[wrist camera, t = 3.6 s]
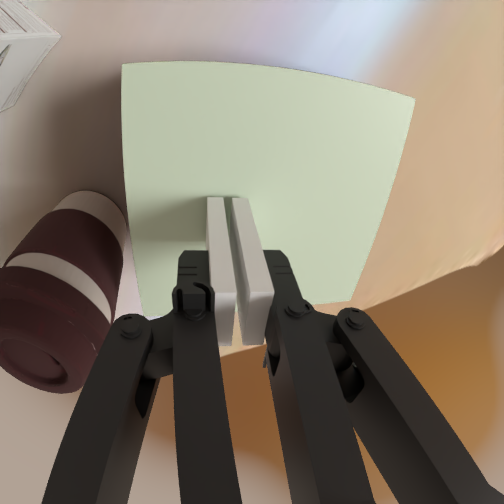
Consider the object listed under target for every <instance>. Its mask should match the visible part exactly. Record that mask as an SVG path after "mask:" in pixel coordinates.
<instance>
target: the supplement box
mask: <svg viewBox="0 0 504 504" xmlns="http://www.w3.org/2000/svg"><path fill="white" fill-rule="evenodd" d="M60 38H61V35H60V34H58V33H57V32H56V31H55V30H54V29H52V28H51V27H50V26H49V25H48V24H47V23H45V22H44V21H43V20H42V19H41V18H40V17H39V16H37V15H36V14H35V13H34V12H33V11H31V10H30V9H29V8H28V7H27V6H26V5H24V4H23V3H22V2H21V1H20V0H0V112H1V111H3V110H6V109H8V108H10V107H12V106H14V104H15V103H16V101H17V99H18V97H19V95H20V93H21V92H22V90H23V88H24V87H25V85H26V83H27V82H28V80H29V79H30V77H31V76H32V74H33V73H34V71H35V70H36V69H37V67H38V66H39V64H40V63H41V62H42V60H43V59H44V58H45V56H46V55H47V54H48V52H49V51H50V50H51V49H52V48H53V46H54V45H55V44H56V43H57V42H58V40H59V39H60Z"/></svg>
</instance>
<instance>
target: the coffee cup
mask: <svg viewBox="0 0 504 504" xmlns="http://www.w3.org/2000/svg"><path fill="white" fill-rule="evenodd" d="M126 235H127V228H126V222H125V219H124V216H123V214H122V213H121V211H120V209H119V208H118V207H117V206H116V205H115V204H114V203H113V202H112V201H111V200H110V199H109V198H107V197H106V196H104V195H102V194H99V193H97V192H93V191H78V192H74V193H72V194H70V195H68V196H66V197H65V198H64V199H62V200H61V201H60V202H59V204H58V205H57V206H56V207H55V208H54V209H53V210H52V211H51V212H50V213H48V214H47V215H45V216H44V217H43V218H42V219H41V220H40V221H39V222H38V223H37V224H36V225H35V226H34V227H33V229H32V230H31V231H30V232H29V233H28V234H27V235H26V237H25V238H24V239H23V240H22V241H21V243H20V244H19V245H18V246H17V247H16V249H15V250H14V251H13V252H12V254H11V255H10V256H9V257H8V259H7V260H6V262H5V264H4V266H3V267H2V268H0V366H1V367H2V368H3V369H4V370H5V371H6V372H8V373H9V374H11V375H12V376H14V377H15V378H17V379H18V380H20V381H22V382H23V383H25V384H27V385H30V386H32V387H34V388H37V389H40V390H43V391H47V392H51V393H60V394H63V393H72V392H75V391H77V390H79V389H80V388H81V387H82V386H83V385H84V384H85V382H86V379H87V377H88V375H89V373H90V370H91V368H92V366H93V364H94V361H95V359H96V357H97V355H98V353H99V351H100V348H101V346H102V344H103V342H104V340H105V338H106V336H107V334H108V332H109V330H110V327H111V325H112V324H113V321H114V317H115V310H116V303H117V297H118V291H119V285H120V279H121V273H122V268H123V250H124V246H125V241H126Z"/></svg>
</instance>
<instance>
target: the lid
mask: <svg viewBox="0 0 504 504" xmlns="http://www.w3.org/2000/svg"><path fill="white" fill-rule="evenodd" d="M415 100H416V99H415V98H413V97H410V96H407V95H404V94H401V93H397V92H394V91H391V90H387V89H384V88H380V87H376V86H373V85H369V84H365V83H361V82H357V81H353V80H348V79H344V78H339V77H335V76H330V75H325V74H319V73H314V72H308V71H302V70H296V69H289V68H282V67H274V66H265V65H256V64H245V63H231V62H212V61H156V62H137V63H125V64H122V80H121V118H122V147H123V165H124V179H125V191H126V202H127V211H128V220H129V229H130V236H131V244H132V251H133V258H134V264H135V271H136V277H137V283H138V288H139V294H140V299H141V305H142V310H143V315H144V316H165V315H166V314H168V313H169V312H170V311H171V310H172V309H173V305H172V291H173V288H174V287H175V286H176V285H177V271H178V258H179V256H180V255H181V254H182V252H183V251H184V250H206V219H207V197H223V200H224V207H225V214H226V222H227V229H228V236H229V230H230V217H231V205H232V198H248V201H249V204H250V208H251V211H252V215H253V218H254V221H255V225H256V228H257V232H258V235H259V239H260V242H261V246H262V249H263V250H281V251H282V252H283V253H284V254H285V255H286V256H287V257H288V260H289V262H290V265H291V268H292V270H293V274H294V276H295V278H296V281H297V284H298V286H299V289H300V292H301V295H302V297H303V299H305V300H307V301H308V302H309V303H310V304H311V305H315V304H325V303H333V302H342V301H350V299H351V297H352V295H353V292H354V290H355V287H356V285H357V283H358V280H359V278H360V275H361V273H362V270H363V268H364V265H365V263H366V260H367V257H368V255H369V252H370V250H371V247H372V244H373V241H374V239H375V236H376V233H377V230H378V228H379V225H380V222H381V219H382V216H383V213H384V210H385V207H386V204H387V201H388V198H389V195H390V192H391V189H392V186H393V182H394V179H395V176H396V172H397V169H398V166H399V162H400V159H401V155H402V152H403V148H404V144H405V141H406V137H407V133H408V129H409V125H410V121H411V117H412V113H413V108H414V104H415ZM235 312H238V309H237V302H236V305H235Z"/></svg>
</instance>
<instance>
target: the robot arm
mask: <svg viewBox="0 0 504 504" xmlns="http://www.w3.org/2000/svg"><path fill="white" fill-rule="evenodd" d="M236 302H237V309H238V316H239V322H240V329H241V336H242V342H243V345H263V343H264V338H266V343H267V349H266V353H265V357H264V361H263V368H265V367H266V364H267V368H268V373H269V379H270V384H271V390H272V396H273V401H274V407H275V412H276V418H277V424H278V429H279V434H280V440H281V445H282V450H283V457H284V462H285V467H286V473H287V478H288V484H289V489H290V495H291V500H292V504H376V503H375V501H374V498H373V494H372V491H371V487H370V484H369V480H368V476H367V473H366V470H365V466H364V462H363V459H362V456H361V452H360V449H359V445H358V442H357V439H356V435H355V432H354V429H355V431H356V432H357V434H358V436H359V437H360V439H361V441H362V442H363V444H364V446H365V447H366V449H367V451H368V453H369V454H370V456H371V458H372V459H373V461H374V463H375V464H376V466H377V468H378V469H379V471H380V473H381V474H382V476H383V478H384V479H385V481H386V483H387V484H388V486H389V488H390V489H391V491H392V493H393V494H394V496H395V498H396V499H397V501H398V503H399V504H504V495H503V494H502V493H500V492H499V491H497V490H496V489H495V488H493V487H491V486H490V485H489V484H488V482H487V481H486V479H485V477H484V476H483V474H482V473H481V471H480V470H479V468H478V466H477V465H476V463H475V462H474V460H473V459H472V457H471V456H470V454H469V453H468V451H467V450H466V448H465V447H464V445H463V444H462V442H461V441H460V439H459V438H458V436H457V435H456V433H455V432H454V430H453V429H452V427H451V426H450V425H449V423H448V422H447V420H446V419H445V417H444V416H443V414H442V413H441V412H440V410H439V409H438V407H437V406H436V405H435V403H434V402H433V400H432V399H431V398H430V396H429V395H428V393H427V392H426V391H425V389H424V388H423V387H422V385H421V384H420V382H419V381H418V380H417V379H416V377H415V376H414V374H413V373H412V372H411V370H410V369H409V367H408V366H407V365H406V364H405V362H404V361H403V359H402V358H401V357H400V356H399V354H398V353H397V352H396V350H395V349H394V348H393V346H392V345H391V344H390V342H389V341H388V340H387V339H386V337H385V336H384V335H383V333H382V332H381V331H380V329H379V328H378V327H377V326H376V324H375V323H374V322H373V320H372V319H371V318H370V317H369V316H368V315H367V314H366V313H365V312H363V311H361V310H360V309H357V308H352V307H351V308H344V309H342V310H340V312H339V313H338V315H337V316H335V315H330V314H325V313H321V312H318V311H316V310H314V308H313V306H312V305H311V304H310V303H309V302H308V301H307V300H305V299H303V297H302V295H301V292H300V289H299V286H298V284H297V281H296V278H295V276H294V274H293V270H292V268H291V265H290V262H289V260H288V257H287V256H286V255H285V254H284V253H283V252H282V251H281V250H263V249H262V246H261V242H260V239H259V235H258V232H257V228H256V225H255V221H254V218H253V215H252V211H251V208H250V204H249V201H248V198H232V205H231V217H230V230H229V236H228V229H227V222H226V214H225V207H224V200H223V197H207V219H206V250H184V251H183V252H182V254H181V255H180V256H179V258H178V271H177V285H176V286H175V287H174V288H173V291H172V305H173V309H172V310H171V311H170V312H169V313H168V314H166V315H165V316H163V317H160V318H157V319H153V320H148V319H146V318H145V317H144V316H142V315H139V314H126V315H122V316H121V317H119V318H118V319H116V320H115V321H114V323H113V324H112V325H111V327H110V330H109V332H108V334H107V336H106V338H105V340H104V342H103V344H102V346H101V348H100V351H99V353H98V355H97V357H96V359H95V361H94V364H93V366H92V368H91V370H90V373H89V375H88V377H87V379H86V382H85V384H84V386H83V389H82V392H81V393H80V396H79V398H78V401H77V403H76V406H75V408H74V411H73V413H72V416H71V418H70V421H69V423H68V426H67V429H66V431H65V434H64V437H63V440H62V442H61V445H60V448H59V451H58V453H57V456H56V459H55V462H54V465H53V468H52V471H51V474H50V477H49V480H48V483H47V487H46V490H45V494H44V497H43V501H42V504H127V502H128V498H129V494H130V490H131V485H132V481H133V477H134V473H135V469H136V465H137V461H138V457H139V453H140V450H141V446H142V442H143V438H144V435H145V431H146V427H147V423H148V420H149V416H150V413H151V409H152V406H153V402H154V399H155V395H156V392H157V388H158V385H159V382H160V378H161V377H164V376H167V375H170V374H173V389H174V417H175V437H176V452H177V465H178V477H179V487H180V497H181V504H242V500H241V494H240V488H239V483H238V477H237V471H236V465H235V459H234V454H233V447H232V441H231V434H230V428H229V421H228V414H227V407H226V401H225V393H224V386H223V378H222V371H221V363H220V355H219V347H218V346H231V345H232V335H233V325H234V315H235V305H236ZM353 427H354V429H353Z"/></svg>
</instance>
